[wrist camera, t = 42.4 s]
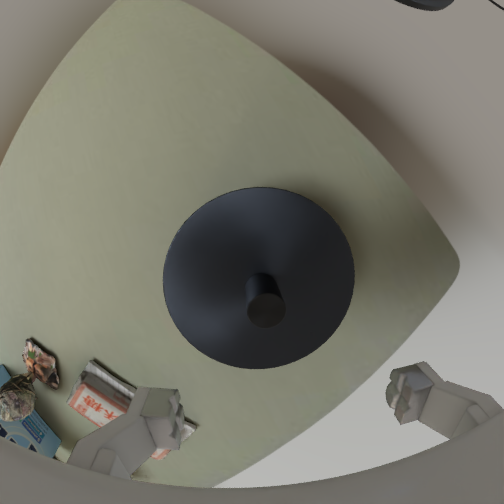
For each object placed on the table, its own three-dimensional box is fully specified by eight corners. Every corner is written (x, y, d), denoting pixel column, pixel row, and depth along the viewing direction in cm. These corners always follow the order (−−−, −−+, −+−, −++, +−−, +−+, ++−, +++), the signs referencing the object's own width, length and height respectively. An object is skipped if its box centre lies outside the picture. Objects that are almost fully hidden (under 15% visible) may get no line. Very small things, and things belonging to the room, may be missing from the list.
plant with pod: (18, 370, 34) (-42, 439, 14) (29, 330, 32) (-51, 405, 12) (53, 400, 35) (2, 479, 16) (69, 365, 33) (2, 457, 14)
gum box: (-7, 366, 33) (-71, 433, 11) (4, 363, 33) (-65, 437, 11) (49, 441, 38) (10, 515, 16) (63, 441, 38) (23, 522, 16)
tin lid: (352, 186, 21) (383, 188, 16) (341, 353, 24) (361, 387, 19) (158, 192, 20) (135, 195, 15) (178, 363, 24) (168, 401, 19)
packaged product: (59, 409, 30) (77, 375, 28) (71, 391, 35) (92, 356, 33) (160, 471, 33) (194, 448, 32) (165, 450, 38) (197, 424, 36)
